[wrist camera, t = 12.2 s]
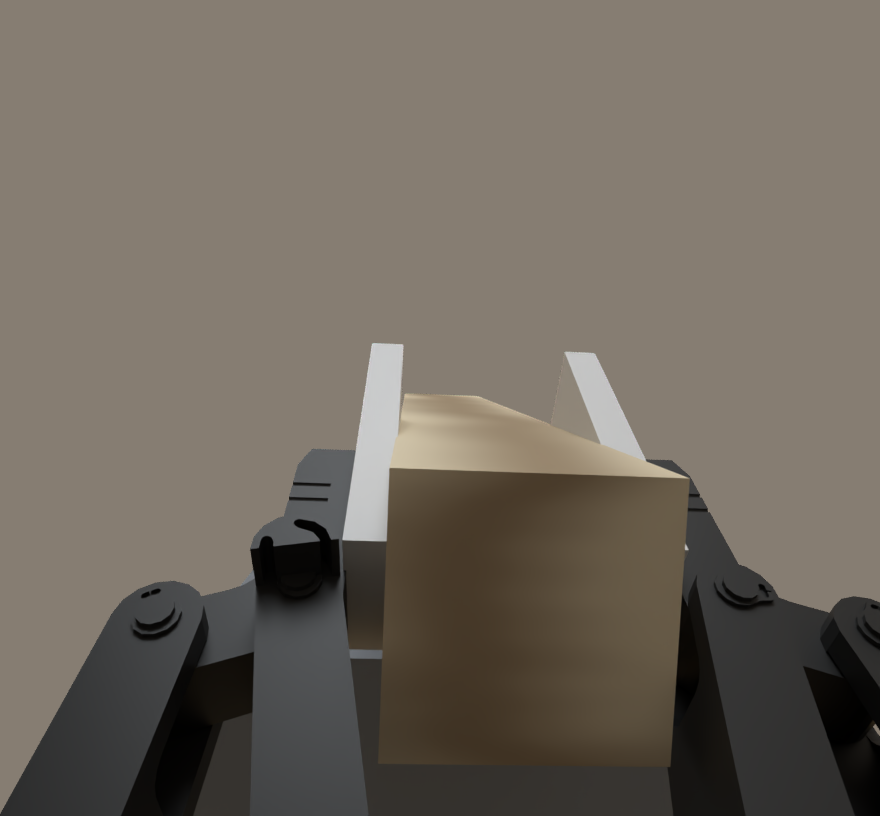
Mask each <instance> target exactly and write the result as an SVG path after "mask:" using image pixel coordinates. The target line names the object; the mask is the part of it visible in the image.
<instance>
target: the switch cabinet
mask: <svg viewBox="0 0 880 816" xmlns="http://www.w3.org/2000/svg"><path fill="white" fill-rule="evenodd" d="M254 578H255V577H254V571H252V572H251V573H250V575H249V576H248V577H247V578H246V580H245V581H244V582H243V583H242V585H244V584H246V583H248V582H249V581H251V580H253V579H254ZM242 585H241V586H242ZM349 652H350V661H351V669H352V678H353V686H354V695H355V703H356V712H357V720H358V729H359V737H360V746H361V754H362V763H363V771H364V780H365V789H366V797H367V806H368V814H369V816H673V809H672V801H671V792H670V784H669V776H668V768H667V767H623V766H532V765H442V764H378V752H379V726H380V700H381V674H382V650H355V649H349ZM252 715H253V713H249V714H246V715H243V716H239V717H236V718H233V719H230V720H226V721H223V724H222V727H221V730H220V733H219V736H218V739H217V743H216V746H215V749H214V752H213V755H212V758H211V761H210V765H209V768H208V771H207V774H206V777H205V780H204V783H203V786H202V790H201V793H200V796H199V799H198V802H197V805H196V808H195V812H194V815H193V816H250V792H251V753H252Z"/></svg>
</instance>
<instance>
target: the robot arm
mask: <svg viewBox="0 0 880 816" xmlns="http://www.w3.org/2000/svg"><path fill="white" fill-rule="evenodd" d="M402 372H403V345H401V344H379V343H372V348H371V355H370V361H369V368H368V374H367V381H366V387H365V394H364V401H363V407H362V414H361V420H360V427H359V434H358V440H357V447H356V451H354V450H326V449H325V450H324V449H312V450H311V451H310V452H309V453H308V454H307V455H306V456H305V457H304V459H303V460H302V461H301V462H300V463H299V464H298V467H297V470H296V474H295V478H294V481H293V486H292V488H291V493H290V496H289V501H288V503H287V507H286V511H285V514H284V517H280V518H277V519H275V520H273V521H272V522H270V523H268V524H266V525H264V526H263V527H262V529H261V530H260V531H259V532H258V533H257V534H256V535H255V536H254V539H253V542H252V545H251V548H250V551H251V557H252V564H253V571H254V577H255V578H254V579H253V580H251V581H249V582H248V583H246V584H244V585H242V586H239V587H236V588H233V589H230V590H227V591H222V592H218V593H214V594H210V595H206V596H200V593H199V592H198V591H196V590H195V589H194V588H193V587H191V586H190V585H188V584H184V583H180V582H176V581H169V582H158V583H154V584H151V585H148V586H146V587H143V588H140V589H138V590H137V591H135V592H134V593H132V594H131V595H129V596H128V597H126V598H125V599H123V600H122V602H121V603H120V604H119V605H118V607H117V608H116V609H115V610H114V612H113V613H112V614H111V616H110V618H109V620H108V621H107V623H106V625H105V627H104V629H103V631H102V632H101V634H100V636H99V638H98V639H97V641H96V643H95V645H94V647H93V648H92V650H91V652H90V654H89V656H88V657H87V659H86V661H85V663H84V665H83V666H82V668H81V670H80V672H79V674H78V675H77V677H76V679H75V681H74V682H73V684H72V686H71V688H70V690H69V692H68V693H67V695H66V697H65V699H64V701H63V702H62V704H61V706H60V708H59V709H58V711H57V713H56V715H55V717H54V718H53V720H52V722H51V724H50V726H49V727H48V729H47V731H46V733H45V735H44V736H43V738H42V740H41V742H40V744H39V745H38V747H37V749H36V751H35V753H34V754H33V756H32V758H31V760H30V761H29V763H28V765H27V767H26V769H25V771H24V772H23V774H22V776H21V778H20V779H19V781H18V783H17V785H16V787H15V788H14V790H13V792H12V794H11V796H10V797H9V799H8V801H7V803H6V805H5V806H4V808H3V810H2V812H1V814H0V816H193V815H194V812H195V808H196V805H197V802H198V799H199V796H200V793H201V790H202V786H203V783H204V780H205V777H206V774H207V771H208V768H209V765H210V761H211V758H212V755H213V752H214V749H215V746H216V743H217V739H218V736H219V733H220V730H221V727H222V724H223V721H226V720H230V719H233V718H236V717H239V716H243V715H246V714H249V713H253V715H252V753H251V792H250V816H369V814H368V806H367V797H366V789H365V780H364V771H363V763H362V754H361V746H360V737H359V729H358V720H357V712H356V703H355V695H354V686H353V678H352V669H351V661H350V652H349V649H355V650H382V648H383V622H384V596H385V570H386V544H387V518H388V492H389V468H390V463H391V458H392V453H393V449H394V444H395V439H396V437H398V433H399V427H400V422H401V404H402V403H401V402H402ZM550 425H552V426H555V427H557V428H560V429H562V430H565V431H568V432H570V433H573V434H575V435H578V436H580V437H583V438H585V439H588V440H591V441H593V442H596V443H598V444H601V445H605V446H607V447H610V448H613V449H615V450H618V451H620V452H623V453H626V454H628V455H631V456H633V457H636V458H638V459H641V460H644V461H646V462H649V463H651V464H654V465H656V466H659V467H662V468H664V469H667V470H669V471H672V472H675V473H677V474H680V475H682V476H685V477H687V478H690V476H689V475H688V474H687V473H685V472H684V471H683V470H682V469H681V468H680V467H679V466H677V465H676V464H675V463H674V462H673V461H671V460H645V457H644V456H643V453H642V451H641V449H640V447H639V445H638V443H637V441H636V439H635V436H634V435H633V432H632V430H631V428H630V426H629V424H628V422H627V420H626V418H625V416H624V413H623V412H622V409H621V407H620V405H619V403H618V401H617V399H616V397H615V395H614V392H613V390H612V388H611V387H610V384H609V382H608V380H607V378H606V376H605V374H604V371H603V369H602V367H601V365H600V363H599V361H598V359H597V357H596V355H595V353H579V352H565V353H564V357H563V363H562V368H561V373H560V378H559V383H558V389H557V393H556V399H555V404H554V409H553V414H552V419H551V424H550ZM875 724H876V725H877V726H878V728H879V730H880V603H879V602H877V601H874V600H872V599H868V598H861V597H849V598H844V599H841V600H840V601H839V602H838V603H837V604H836V605H835V606H834V607H833V609H832V610H831V612H830V613H828V612H825V611H821V610H817V609H814V608H810V607H806V606H803V605H799V604H796V603H792V602H789V601H787V600H784V599H781V598H779V597H778V595H777V594H776V592H775V590H774V589H773V587H772V586H771V585H770V584H769V583H768V582H767V581H766V580H765V579H764V578H763V577H762V576H761V575H759V574H757V573H755V572H754V571H752V570H750V569H748V568H747V567H745V566H741V565H739V564H738V563H737V561H736V559H735V557H734V555H733V553H732V552H731V550H730V548H729V546H728V544H727V543H726V541H725V539H724V537H723V535H722V534H721V532H720V530H719V528H718V526H717V525H716V523H715V521H714V519H713V517H712V516H711V514H710V513H709V512H708V508H707V506H706V505H705V503H704V501H703V499H702V498H700V494H699V492H698V490H697V488H696V487H695V485H694V483H693V481H692V479H691V478H690V482H689V497H688V512H687V526H686V541H685V556H684V571H683V586H682V601H681V615H680V630H679V645H678V660H677V675H676V690H675V704H674V719H673V734H672V749H671V764H670V767H667V768H668V776H669V784H670V792H671V801H672V809H673V816H880V736H879V735H878V734H877V732H876V731H875V729H874V728H873V726H874V725H875Z"/></svg>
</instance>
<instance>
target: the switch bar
mask: <svg viewBox="0 0 880 816" xmlns="http://www.w3.org/2000/svg"><path fill="white" fill-rule="evenodd" d="M689 482H690V478H687V477H685V476H682V475H680V474H677V473H675V472H672V471H669V470H667V469H664V468H662V467H659V466H656V465H654V464H651V463H649V462H646V461H644V460H641V459H638V458H636V457H633V456H631V455H628V454H626V453H623V452H620V451H618V450H615V449H613V448H610V447H607V446H605V445H601V444H598V443H596V442H593V441H591V440H588V439H585V438H583V437H580V436H578V435H575V434H573V433H570V432H568V431H565V430H562V429H560V428H557V427H555V426H552V425H550V424H548V423H546V422H543V421H540V420H538V419H535V418H533V417H530V416H528V415H525V414H522V413H520V412H517V411H515V410H512V409H509V408H507V407H504V406H502V405H499V404H497V403H494V402H491V401H489V400H486V399H484V398H481V397H478V396H460V395H459V396H458V395H436V394H435V395H434V394H411V393H405V397H404V402H403V407H402V411H401V422H400V427H399V433H398V437H396V439H395V444H394V449H393V453H392V458H391V463H390V468H389V492H388V518H387V544H386V570H385V596H384V622H383V648H382V674H381V700H380V726H379V752H378V764H442V765H532V766H623V767H670V764H671V749H672V734H673V719H674V704H675V690H676V675H677V660H678V645H679V630H680V615H681V601H682V586H683V571H684V556H685V541H686V526H687V512H688V497H689Z"/></svg>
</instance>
